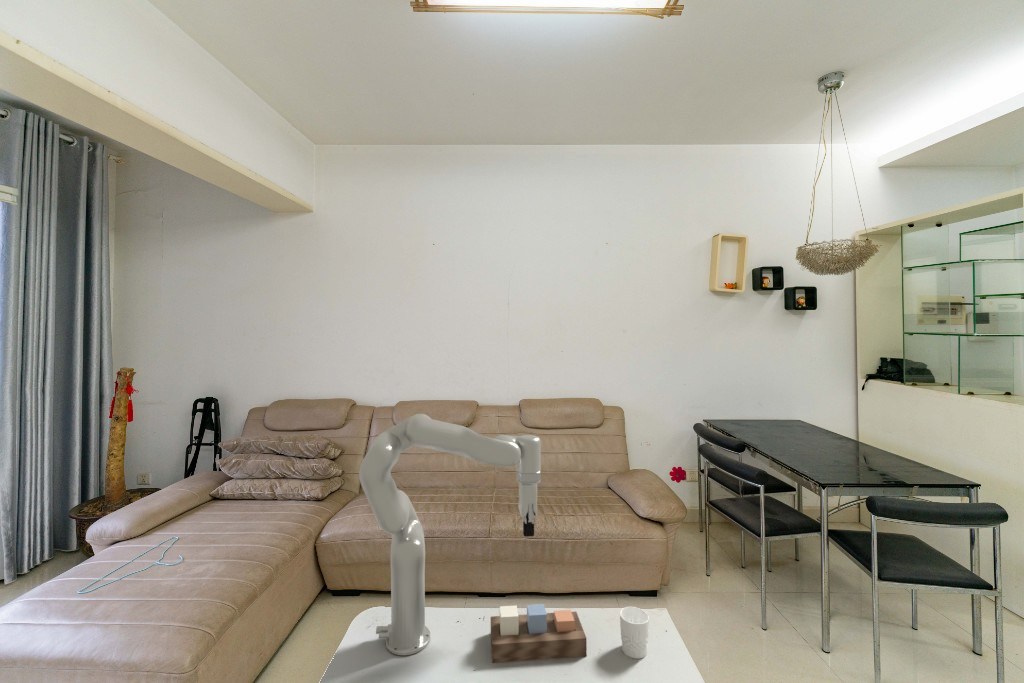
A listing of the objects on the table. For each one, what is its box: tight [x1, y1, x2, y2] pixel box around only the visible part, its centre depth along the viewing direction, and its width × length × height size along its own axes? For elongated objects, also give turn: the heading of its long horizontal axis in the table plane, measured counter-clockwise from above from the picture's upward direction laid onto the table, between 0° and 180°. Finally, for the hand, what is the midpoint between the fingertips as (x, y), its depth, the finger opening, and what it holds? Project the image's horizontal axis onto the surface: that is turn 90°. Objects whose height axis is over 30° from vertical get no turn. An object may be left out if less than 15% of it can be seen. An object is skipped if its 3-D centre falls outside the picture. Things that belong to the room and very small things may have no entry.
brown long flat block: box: [490, 611, 588, 664], centre depth 126 cm, size 26×12×5 cm, turn 95°
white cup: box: [619, 606, 650, 659], centre depth 123 cm, size 8×8×10 cm
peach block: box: [553, 609, 575, 632], centre depth 126 cm, size 5×5×6 cm
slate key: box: [526, 603, 547, 634], centre depth 126 cm, size 5×5×6 cm
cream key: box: [499, 605, 519, 636], centre depth 125 cm, size 5×5×6 cm
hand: (528, 535), depth 135 cm, fingers closed
